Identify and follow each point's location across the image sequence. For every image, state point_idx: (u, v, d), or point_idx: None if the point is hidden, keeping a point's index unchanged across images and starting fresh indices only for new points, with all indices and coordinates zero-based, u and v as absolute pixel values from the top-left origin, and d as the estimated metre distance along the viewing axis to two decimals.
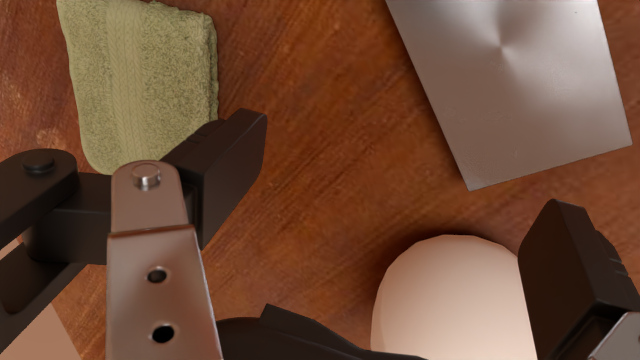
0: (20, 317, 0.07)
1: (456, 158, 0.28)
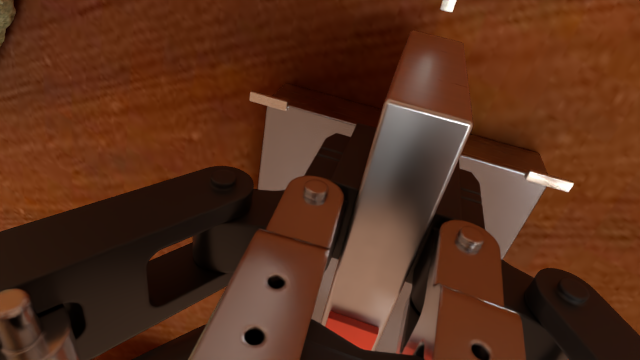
0: (160, 311, 0.08)
1: None
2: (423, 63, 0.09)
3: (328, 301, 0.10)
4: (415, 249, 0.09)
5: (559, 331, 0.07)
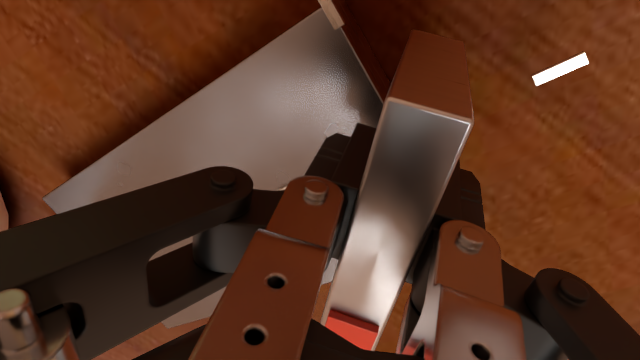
0: (160, 311, 0.08)
1: (72, 181, 0.20)
2: (424, 61, 0.09)
3: (328, 300, 0.10)
4: (415, 247, 0.09)
5: (559, 331, 0.07)
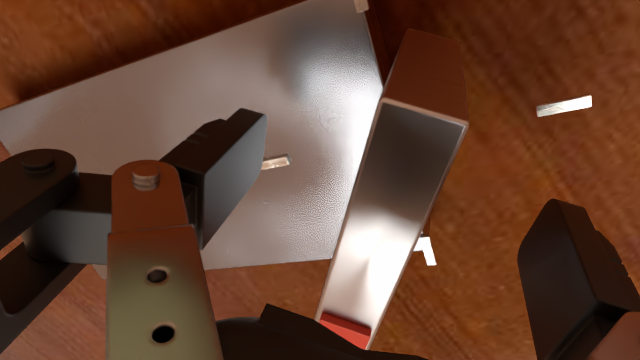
0: (20, 317, 0.07)
1: (23, 105, 0.17)
2: (419, 61, 0.09)
3: (320, 302, 0.10)
4: (409, 251, 0.09)
5: None
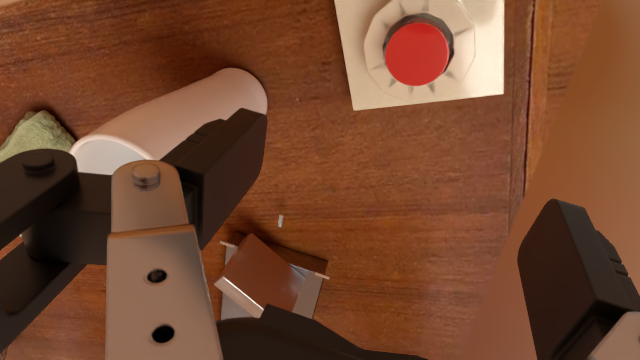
0: (21, 317, 0.07)
1: None
2: (230, 259, 0.36)
3: None
4: (250, 299, 0.34)
5: None
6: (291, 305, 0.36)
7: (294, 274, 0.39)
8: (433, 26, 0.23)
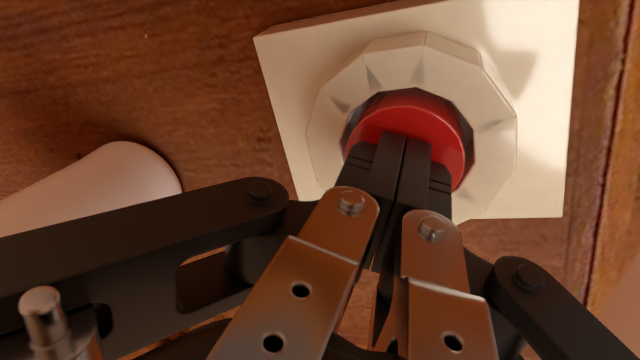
0: (187, 317, 0.08)
1: None
2: None
3: None
4: None
5: (513, 316, 0.07)
6: None
7: None
8: (434, 112, 0.12)
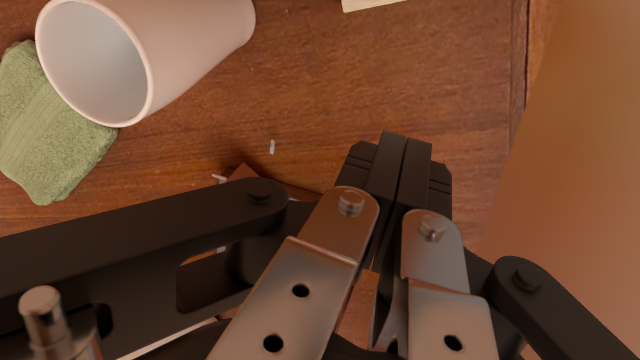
0: (187, 317, 0.08)
1: None
2: None
3: None
4: None
5: (513, 316, 0.07)
6: None
7: None
8: None
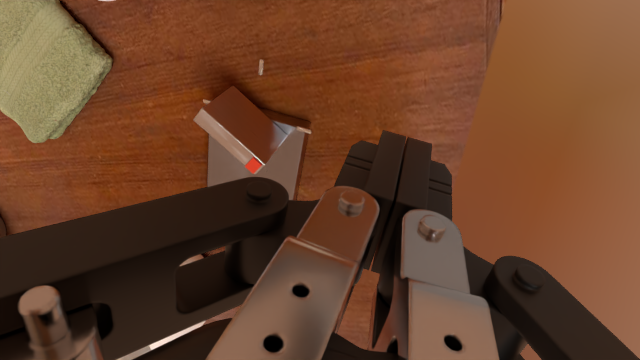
0: (187, 317, 0.08)
1: None
2: None
3: (242, 163, 0.35)
4: (229, 133, 0.34)
5: (513, 316, 0.07)
6: (271, 150, 0.37)
7: (276, 129, 0.39)
8: None
